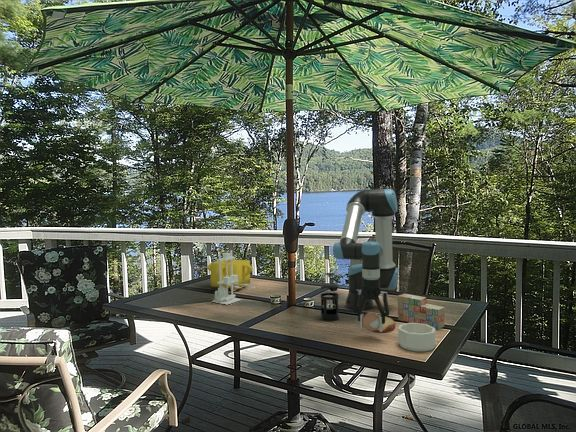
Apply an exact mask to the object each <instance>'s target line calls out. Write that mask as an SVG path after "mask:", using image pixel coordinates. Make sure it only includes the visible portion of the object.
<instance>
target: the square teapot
mask: <svg viewBox="0 0 576 432" xmlns="http://www.w3.org/2000/svg"><path fill="white" fill-rule="evenodd" d="M250 262H251V260H249V259H248V260H247V259H235V258H233V259H232V266H233V275H238V282H235V283H238V284H233V290H235V289H236V287H234V286H239V287H242V286H244V285H240V284H248V285H249V284H251V273H252V271H253V266H252V265H251V263H250ZM206 269H207V270H208V271H209V272H210V273H209V275H210V287H215V288H217V289H218V288H220V284H217V282H219V261H212V262H210V263H209V264H208V265H207V266H206ZM227 270H228V277H230V275H231V260H227ZM223 277H227V275H226V261H221V281H223V280H224V279H223ZM230 285H231V284H230ZM221 286H223V287H225V288H227V284H221ZM244 287H245V286H244ZM228 289H230V290H231V286H228ZM236 290H237V289H236Z"/></svg>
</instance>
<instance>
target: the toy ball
mask: <svg viewBox="0 0 576 432" xmlns="http://www.w3.org/2000/svg"><path fill="white" fill-rule="evenodd" d="M379 315H380V314H378V313H376V312H373V311H370V312H367V313H365V314H364V317H363V325H364V329H366V330H368V331H371V332H374V331H375V330H377V329H379V327H380V318H379Z"/></svg>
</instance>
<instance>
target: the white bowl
mask: <svg viewBox="0 0 576 432" xmlns="http://www.w3.org/2000/svg"><path fill="white" fill-rule="evenodd" d="M397 334H398V335H397V343H398V345H399V347H401V348H403V349H405V350H407V351H411V352H418V353H419V352H421V353H422V352H423V353H424V352H430V351H432V350H434V349H435V347H436V329H435V328H434V327H431V326H429V325H427V324H420V323H409V322H406V323H401V324H400V325H399V326H398V328H397Z"/></svg>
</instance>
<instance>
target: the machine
mask: <svg viewBox="0 0 576 432" xmlns="http://www.w3.org/2000/svg"><path fill="white" fill-rule="evenodd" d="M221 254H222V257H221ZM233 258H234V259H235V256H233V250H232V249H230V250H229V252H222V253H221V251H220V252H219V251H218V258H216V259H215V260H216V261H219V282H217V284H220V288H218V287H217V289H218V290H215V291H214V300H211V303H212V302H216V303H221V304H226V305H228V304H231V303H234V302H237V301H240V300H242V301H243V298H237V297H236V296H237V295H236V294H235V293H234V292H233V284H238V283H235V282H238V275H233V266H232V259H233ZM227 260H231V275H230V277H228V270H227ZM216 261H215V262H216ZM221 261H226V275H227V277H223V279H224V280H223V281H221ZM221 284H227V288H225V287H223V286H221ZM230 284H231V285H230ZM240 285H244V287H247V286H248V290H249V289H250V290H255V289H256V286H251V285H249V284H240ZM228 286H231V291H230V292H231V294H229V288H228ZM234 287H236V290H239V289H243V288H242V287H239V286H234ZM240 302H241V301H240ZM237 303H238V302H237ZM221 304H220V305H221ZM234 304H235V303H234ZM226 305H225V306H226ZM231 305H232V304H231ZM228 306H229V305H228Z"/></svg>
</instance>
